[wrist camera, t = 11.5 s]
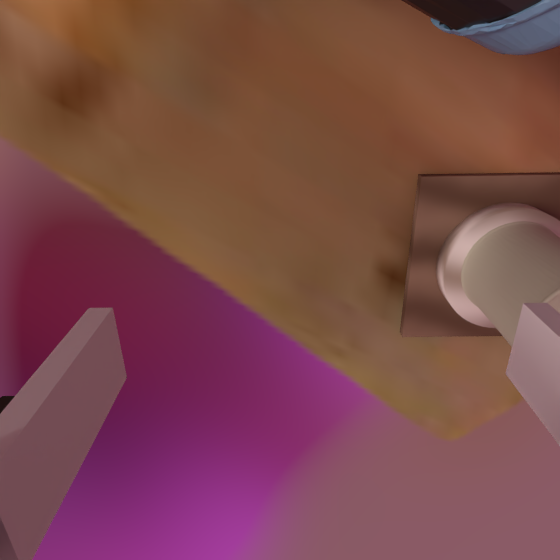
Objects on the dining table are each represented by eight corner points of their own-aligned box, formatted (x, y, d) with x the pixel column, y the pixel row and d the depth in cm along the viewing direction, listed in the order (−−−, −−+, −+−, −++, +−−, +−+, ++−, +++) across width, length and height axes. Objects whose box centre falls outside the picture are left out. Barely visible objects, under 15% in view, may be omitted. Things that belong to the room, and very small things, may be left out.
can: (582, 237, 39) (698, 299, 28) (528, 322, 43) (612, 405, 32) (490, 207, 38) (574, 260, 27) (443, 297, 42) (500, 375, 31)
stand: (418, 174, 40) (430, 182, 37) (603, 171, 40) (631, 180, 37) (399, 331, 48) (408, 350, 44) (557, 330, 47) (576, 348, 44)
